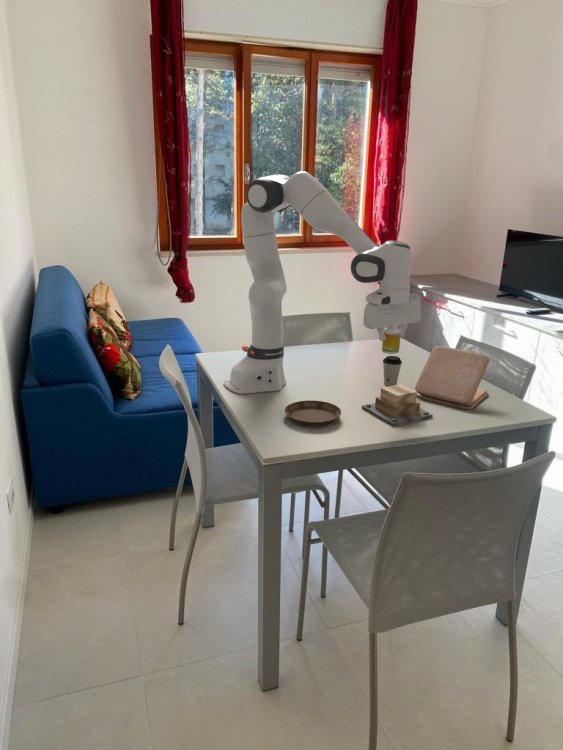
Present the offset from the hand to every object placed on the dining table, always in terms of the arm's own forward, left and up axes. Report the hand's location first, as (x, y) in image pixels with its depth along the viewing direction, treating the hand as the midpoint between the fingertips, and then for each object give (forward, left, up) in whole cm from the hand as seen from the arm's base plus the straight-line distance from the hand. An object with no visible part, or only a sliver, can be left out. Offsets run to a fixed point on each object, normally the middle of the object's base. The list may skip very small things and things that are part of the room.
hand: (391, 339), depth 183 cm
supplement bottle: (0, 0, -4) cm, 4 cm away
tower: (+2, -4, -24) cm, 24 cm away
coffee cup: (+18, +19, -24) cm, 36 cm away
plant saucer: (-25, +4, -24) cm, 35 cm away
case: (+30, 0, -24) cm, 39 cm away
